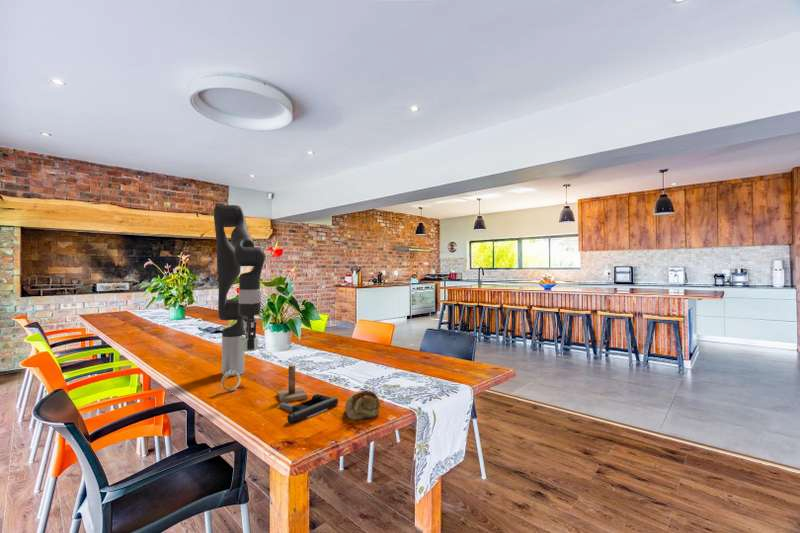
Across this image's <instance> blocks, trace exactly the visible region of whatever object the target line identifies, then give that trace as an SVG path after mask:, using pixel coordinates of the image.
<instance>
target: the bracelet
mask: <svg viewBox="0 0 800 533" xmlns="http://www.w3.org/2000/svg"><path fill="white" fill-rule="evenodd" d="M232 374H234V375H235V376H236V377H237V383H236V385H235V386H233V387H230V388H227V387H226V386H225V382H226V380H227V379H228V377H231V376H230V375H232ZM226 375H227V376H226ZM240 375H241V374H240ZM240 375H239V374H238V373H237V372H235V370H234V371H231V370H229V371H228V372H226V374H224V375H222V377H221V387H222V388H223V389H224V390H225V391H227V392H232V391H234V390H236V389H237V388H238V387H239V386H240V385H241V384H240V383H241V380H242V379H241V376H240Z"/></svg>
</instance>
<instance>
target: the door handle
mask: <svg viewBox="0 0 800 533" xmlns="http://www.w3.org/2000/svg"><path fill="white" fill-rule="evenodd" d="M338 403H339V398H337V397H336V396H327V395H322V394H318V393H316V394H314V395H313V396H311V399H309V400H308V399H307V401H303V402H300V403H298V404H290V403H289V402H286V403H284V402H283V403H282V402H281V403H279V408H281V409H283V410H285V411H288V412H290V414H288V415H287V417H286V419H287V422H288V424H292V423H293V424H294V423H297V422H300V421H302V420H304V419H310V418H312V417H314V416H317V415H319V414H321V413H323V412H325V411H328V410H329V409H331V408H333V407H336V406H337V405H338Z"/></svg>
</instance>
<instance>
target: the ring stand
mask: <svg viewBox="0 0 800 533" xmlns="http://www.w3.org/2000/svg"><path fill="white" fill-rule="evenodd" d="M287 388H288V389H283V390H277V391H276V396H277V397H278V400H279V401H280V402H281V403H283V402H284V403H291V402H297V401H301V400H308V394H307V392H305V390H304V389H303V388H302V386H300V387H296V365H294V364H292V365H288V387H287Z"/></svg>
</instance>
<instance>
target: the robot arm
mask: <svg viewBox="0 0 800 533" xmlns="http://www.w3.org/2000/svg"><path fill="white" fill-rule="evenodd" d="M213 220H214V221H213V222H214V230H215V231H214V232H215V240H216V268H217V269H216V270H217V281H218V282H217V283H218V284H217V285H218V293H217V294H218V300H217V303H218V304H217V312H218V313H217V314H218V317H219V320H220V321H236V322H235V323H234V324H232V325H231V326H227V327H224V328H223V329H222V331H221V375H222V376H224V374H226V372H228V371H229V370H231V371H234V370H235V372H237V373H238V374H239V375H243V374H245V351H242V350H241V339H242V338H246V337H247V348H248V350H251V349H254V339H255V338H256V337H257V336H256V333H257V319H256V318H255V316H259V315H260V314H261V311H262V310H261V308H262V307H261V306H262V304H261V303H262V302H261V300H262V299H261V297H262V296H261V274H262V270H263V267H264V265H265V260H266V252H265V250H264V249H263V248H262V247H257V246H255V243H254V241H253V239H252V236H251V234H250V233H249V232H250V231H249V229H248V224H247V220H246V217H245V214H244V210H243V208H242V207H241V206H240V205H236V204H216V205H215V206H214V208H213ZM225 228H233V230H232V231H231V234H230V240H229V238H228V237H227V235H226V232H225ZM242 267H252V269H251V270H250V271H248V272H242V273H241V268H242ZM238 279H239V280H238ZM236 280H238V283H239V284H238V285H239V286H238V287H239V288H238V299H236V298H235V299H231V298H230V299H228V298H227V296H228V293H229V291H230V289H231V287H232V286H233V284H234V283H235V282H236ZM226 376H227V375H226ZM233 376H234V377H235V376H236V375H234V374H232V375H230V376H229V377H233Z"/></svg>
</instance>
